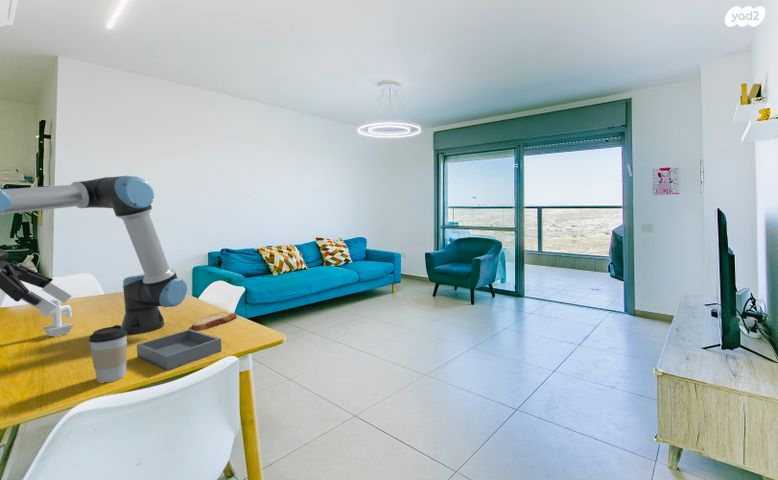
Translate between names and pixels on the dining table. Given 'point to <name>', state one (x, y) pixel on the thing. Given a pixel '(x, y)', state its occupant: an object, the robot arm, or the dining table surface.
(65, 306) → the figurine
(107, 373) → the coffee cup
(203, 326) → the slice of bread
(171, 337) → the tray
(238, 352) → the dining table surface
